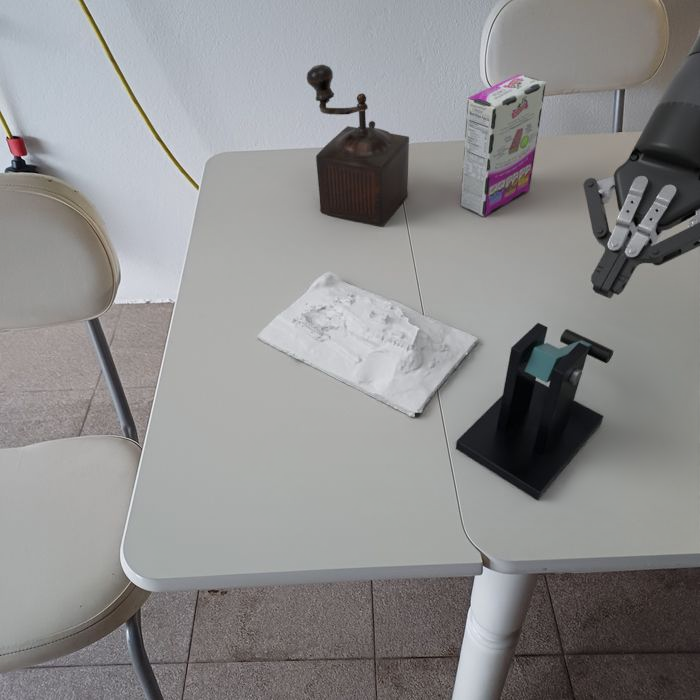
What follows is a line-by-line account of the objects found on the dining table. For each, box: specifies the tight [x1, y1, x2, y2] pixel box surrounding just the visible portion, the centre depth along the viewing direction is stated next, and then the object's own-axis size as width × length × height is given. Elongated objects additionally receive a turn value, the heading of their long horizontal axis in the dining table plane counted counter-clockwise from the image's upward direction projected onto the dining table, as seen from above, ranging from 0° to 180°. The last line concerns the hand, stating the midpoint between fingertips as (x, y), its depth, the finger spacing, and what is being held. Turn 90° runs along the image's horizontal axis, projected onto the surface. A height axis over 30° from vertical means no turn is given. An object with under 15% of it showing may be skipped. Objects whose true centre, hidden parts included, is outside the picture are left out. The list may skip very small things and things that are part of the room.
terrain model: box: [257, 271, 479, 418], centre depth 73 cm, size 17×23×5 cm
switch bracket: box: [455, 322, 604, 501], centre depth 59 cm, size 12×9×12 cm
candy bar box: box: [459, 74, 547, 218], centre depth 91 cm, size 11×5×16 cm, turn 132°
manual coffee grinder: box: [306, 64, 410, 227], centre depth 92 cm, size 16×11×18 cm
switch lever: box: [525, 328, 614, 383], centre depth 60 cm, size 12×5×2 cm, turn 137°
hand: (601, 293), depth 60 cm, fingers closed
